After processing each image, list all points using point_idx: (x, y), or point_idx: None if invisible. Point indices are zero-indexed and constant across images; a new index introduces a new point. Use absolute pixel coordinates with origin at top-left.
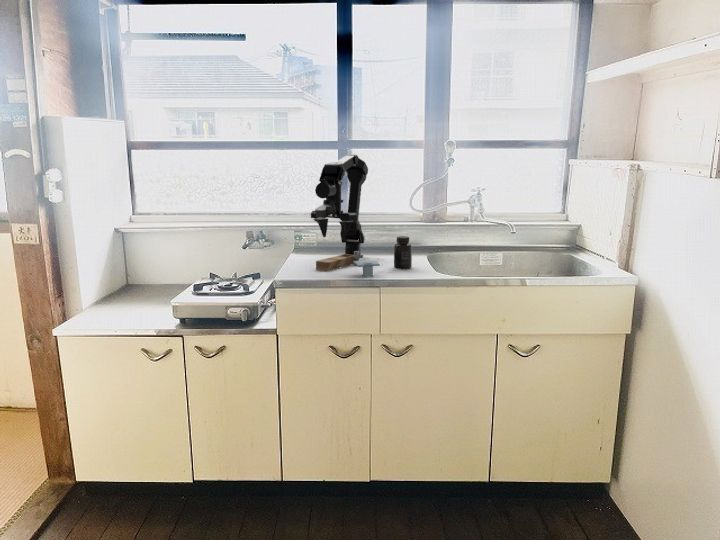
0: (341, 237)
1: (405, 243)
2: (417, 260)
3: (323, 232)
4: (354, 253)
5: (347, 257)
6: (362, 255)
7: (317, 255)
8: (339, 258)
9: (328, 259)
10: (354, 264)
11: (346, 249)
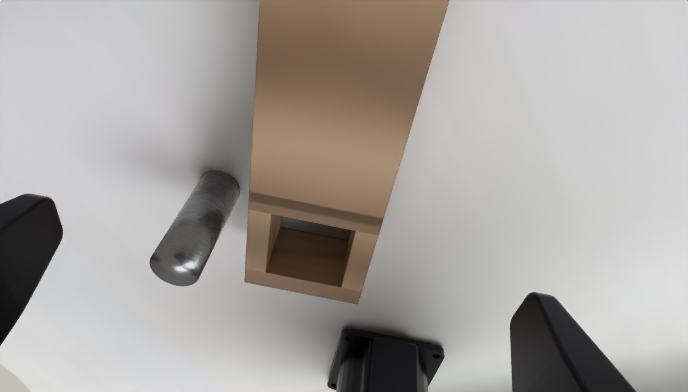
0: (15, 212)
1: None
2: (39, 373)
3: (568, 379)
4: (187, 240)
5: (253, 194)
6: (330, 383)
7: (647, 348)
8: (293, 127)
9: (377, 25)
10: (223, 178)
11: (405, 388)
